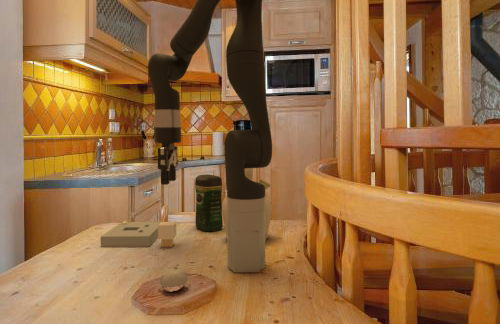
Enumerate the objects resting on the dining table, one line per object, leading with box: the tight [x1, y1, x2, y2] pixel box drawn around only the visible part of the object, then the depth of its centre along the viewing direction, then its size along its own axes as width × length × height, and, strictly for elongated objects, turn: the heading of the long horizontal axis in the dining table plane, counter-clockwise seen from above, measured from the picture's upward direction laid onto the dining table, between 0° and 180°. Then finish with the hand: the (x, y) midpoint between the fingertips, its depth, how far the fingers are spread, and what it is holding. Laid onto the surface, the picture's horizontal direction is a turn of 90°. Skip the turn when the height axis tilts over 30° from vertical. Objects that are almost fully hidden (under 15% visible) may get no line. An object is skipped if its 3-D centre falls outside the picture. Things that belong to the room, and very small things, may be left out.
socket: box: [100, 221, 162, 248], centre depth 121 cm, size 18×14×4 cm
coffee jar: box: [194, 173, 224, 232], centre depth 132 cm, size 10×8×19 cm
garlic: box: [159, 263, 189, 288], centre depth 81 cm, size 6×5×5 cm
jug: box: [222, 168, 273, 241], centre depth 119 cm, size 15×16×25 cm
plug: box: [157, 221, 177, 248], centre depth 113 cm, size 4×4×6 cm
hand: (168, 182), depth 112 cm, fingers open, 8 cm apart
